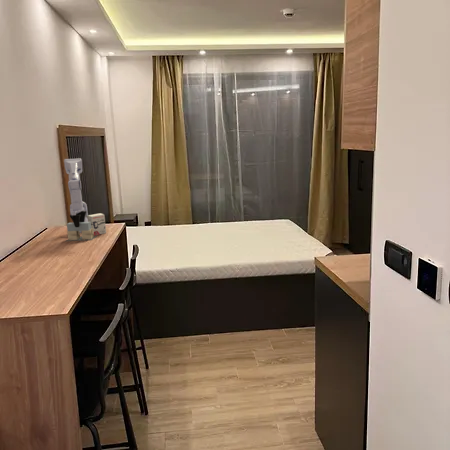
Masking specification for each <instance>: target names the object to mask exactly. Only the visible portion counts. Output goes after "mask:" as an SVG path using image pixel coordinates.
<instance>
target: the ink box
mask: <svg viewBox="0 0 450 450" xmlns="http://www.w3.org/2000/svg"><path fill="white" fill-rule="evenodd" d="M86 217H87V219H88V222H91V229H92V228H93V231H94V236H98V235H102V234H107V228H106V226H107V225H106V217H105V214H104V213H101V212H100V213H94V214H88V216H86Z"/></svg>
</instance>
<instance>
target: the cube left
mask: <svg viewBox="0 0 450 450" xmlns="http://www.w3.org/2000/svg"><path fill="white" fill-rule="evenodd" d="M66 233H67V240H78V239H79V238H80V236H81V233H80V231H66Z"/></svg>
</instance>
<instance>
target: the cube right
mask: <svg viewBox="0 0 450 450" xmlns="http://www.w3.org/2000/svg"><path fill="white" fill-rule="evenodd" d="M81 232H82V233H81V236H82V240H84V239H92V238H94V236H95V235H94V231H93V228H92V229H90V230H84V231H81ZM94 239H95V238H94Z"/></svg>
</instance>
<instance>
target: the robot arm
mask: <svg viewBox="0 0 450 450" xmlns="http://www.w3.org/2000/svg"><path fill="white" fill-rule="evenodd" d="M63 163H64V169H65V173H66V174H67V175H68V182H67V186H68V190H69V195H70V203H71V204H70V205H69V212H70V214H69V217H70V219H71V220H72V223H74V225H75V227H79V226H80V222H88V217H87V216H88V215H89V213H88V206H87V205H88V204H87V202H85V201H83V196H82V183H81V182H82V181H81V178H80V174H82V173H83V161H82V158H80V157H79V158H78V157H77V158H64V159H63ZM80 234H82V232H81V231H80Z"/></svg>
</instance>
